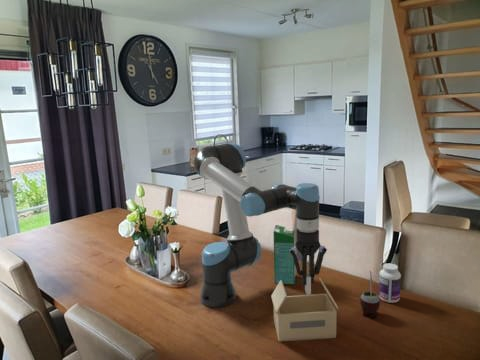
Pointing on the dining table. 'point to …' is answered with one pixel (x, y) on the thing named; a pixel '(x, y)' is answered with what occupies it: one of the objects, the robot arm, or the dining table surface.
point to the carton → (305, 318)
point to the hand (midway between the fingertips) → (307, 292)
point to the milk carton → (284, 255)
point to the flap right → (329, 293)
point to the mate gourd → (370, 301)
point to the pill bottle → (389, 283)
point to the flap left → (278, 296)
